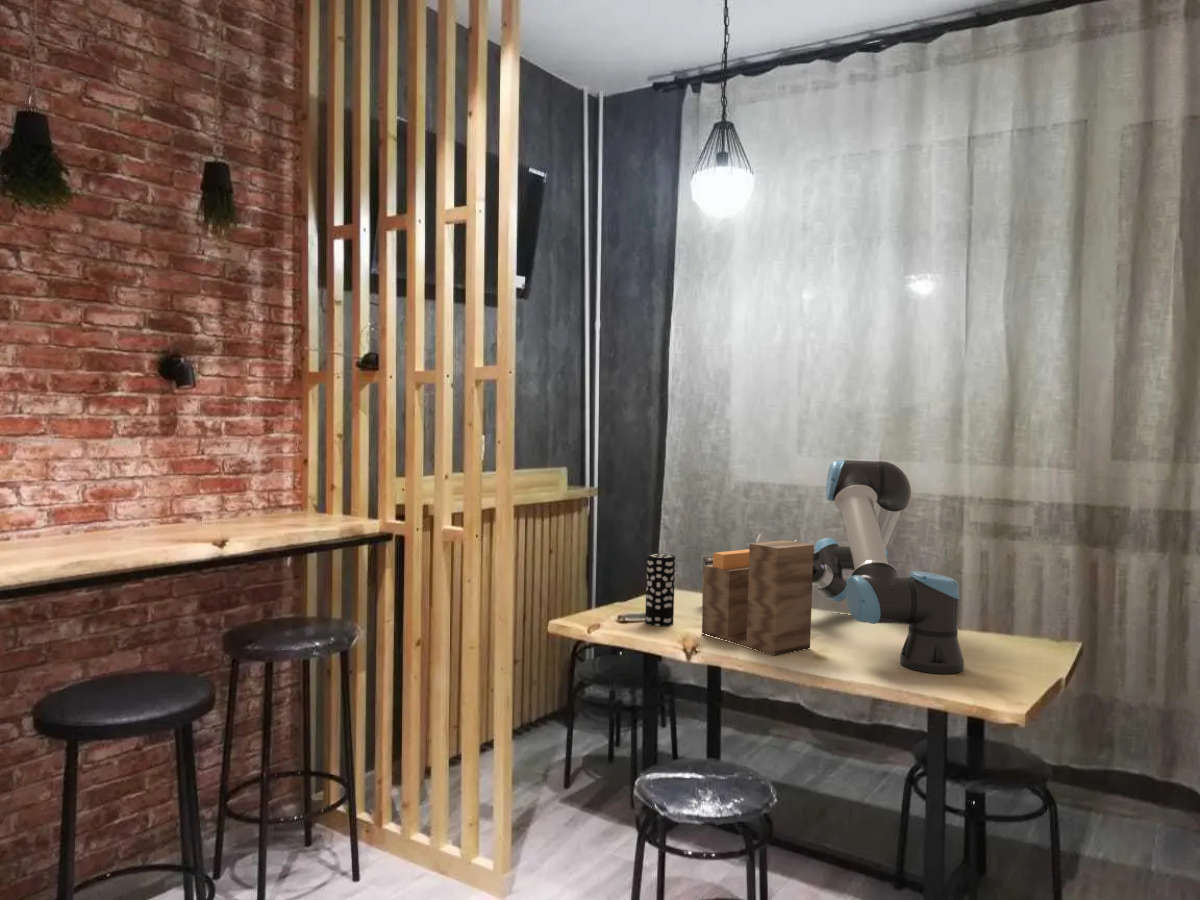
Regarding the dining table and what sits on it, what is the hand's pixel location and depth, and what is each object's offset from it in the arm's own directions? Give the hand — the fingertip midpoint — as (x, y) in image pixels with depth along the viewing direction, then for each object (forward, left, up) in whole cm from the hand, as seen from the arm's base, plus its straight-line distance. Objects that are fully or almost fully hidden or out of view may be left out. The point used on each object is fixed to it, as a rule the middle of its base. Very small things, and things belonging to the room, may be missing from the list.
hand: (775, 540), depth 269 cm
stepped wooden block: (-9, +17, -26) cm, 32 cm away
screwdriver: (0, +12, -6) cm, 13 cm away
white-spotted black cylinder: (+22, +25, -26) cm, 42 cm away
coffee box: (+28, -3, -26) cm, 38 cm away
